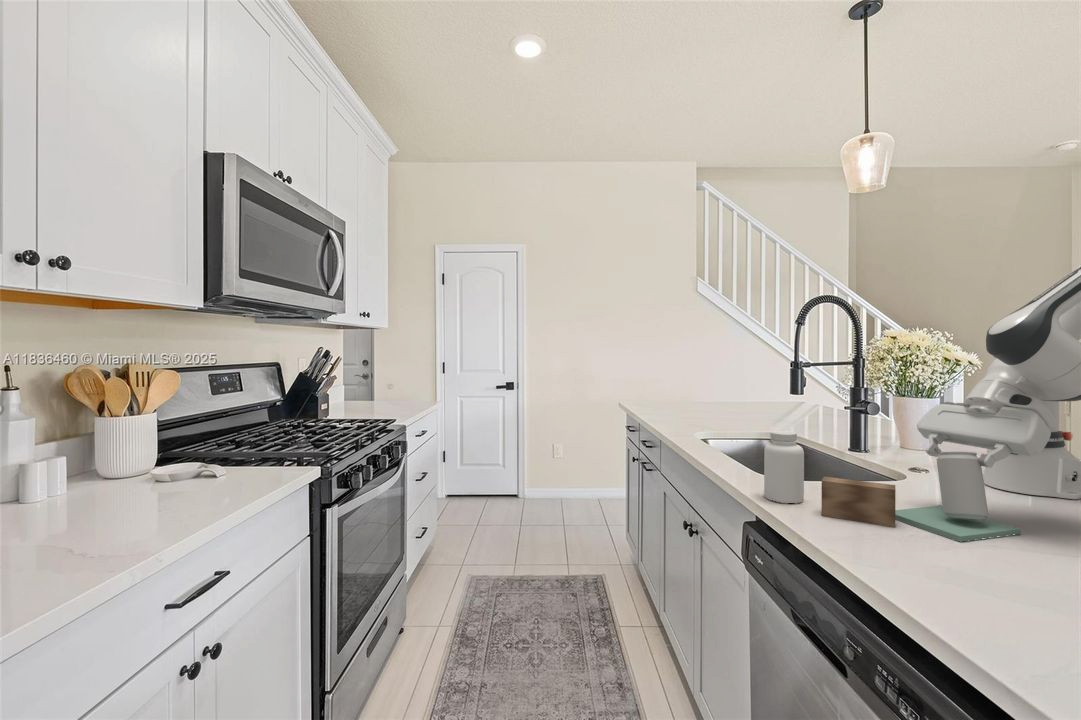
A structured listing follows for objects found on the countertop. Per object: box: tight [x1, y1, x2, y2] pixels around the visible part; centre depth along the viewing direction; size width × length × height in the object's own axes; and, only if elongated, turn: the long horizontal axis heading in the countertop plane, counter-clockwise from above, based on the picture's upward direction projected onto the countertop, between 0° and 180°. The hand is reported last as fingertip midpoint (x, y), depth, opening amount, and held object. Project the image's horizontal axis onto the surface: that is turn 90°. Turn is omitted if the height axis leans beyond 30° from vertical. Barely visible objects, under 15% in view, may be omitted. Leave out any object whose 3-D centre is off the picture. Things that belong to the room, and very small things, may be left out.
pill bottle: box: [763, 430, 805, 504], centre depth 110 cm, size 8×8×15 cm
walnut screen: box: [821, 476, 896, 528], centre depth 96 cm, size 12×4×7 cm, turn 55°
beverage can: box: [936, 451, 989, 520], centre depth 92 cm, size 6×6×12 cm
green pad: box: [895, 505, 1022, 543], centre depth 93 cm, size 14×14×1 cm
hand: (956, 459), depth 94 cm, fingers open, 8 cm apart
